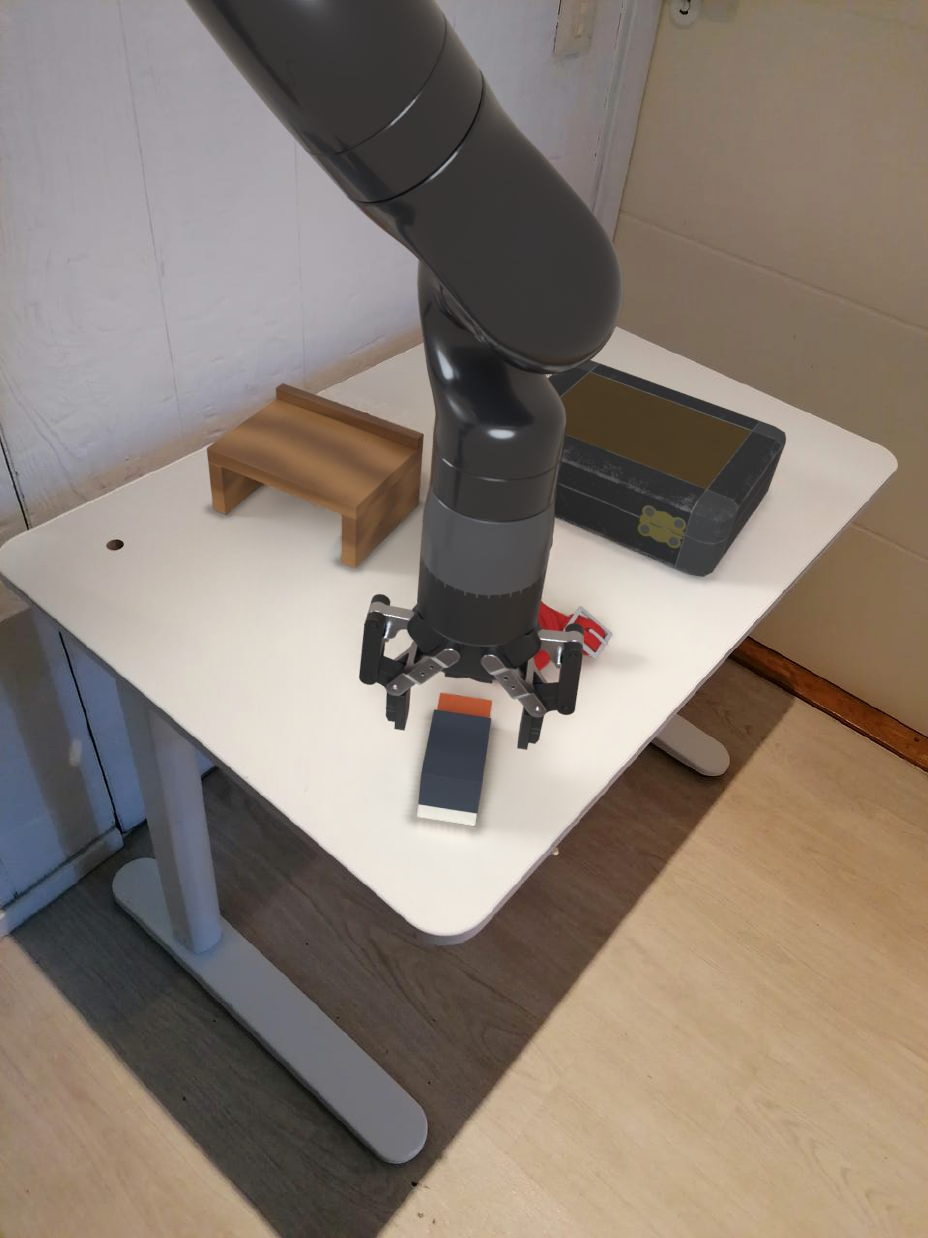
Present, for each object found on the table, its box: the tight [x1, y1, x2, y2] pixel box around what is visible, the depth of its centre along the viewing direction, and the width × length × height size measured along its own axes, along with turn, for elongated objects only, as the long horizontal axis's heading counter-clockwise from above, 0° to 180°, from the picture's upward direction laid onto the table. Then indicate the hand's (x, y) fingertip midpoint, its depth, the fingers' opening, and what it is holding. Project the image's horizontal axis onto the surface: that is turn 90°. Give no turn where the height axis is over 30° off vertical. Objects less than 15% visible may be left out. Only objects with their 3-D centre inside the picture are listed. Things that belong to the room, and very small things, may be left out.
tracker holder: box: [533, 600, 614, 672], centre depth 83 cm, size 12×4×10 cm
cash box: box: [547, 359, 787, 577], centre depth 100 cm, size 25×20×8 cm
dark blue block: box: [416, 692, 493, 827], centre depth 71 cm, size 10×4×5 cm, turn 173°
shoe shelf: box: [206, 382, 425, 569], centre depth 92 cm, size 12×16×8 cm
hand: (462, 730), depth 68 cm, fingers open, 8 cm apart
